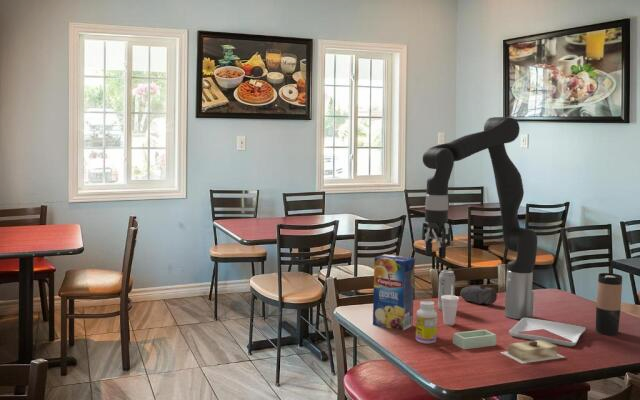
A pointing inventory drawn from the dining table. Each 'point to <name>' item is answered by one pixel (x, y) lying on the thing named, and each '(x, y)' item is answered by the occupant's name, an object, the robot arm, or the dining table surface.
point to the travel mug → (608, 303)
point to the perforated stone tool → (479, 294)
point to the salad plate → (555, 327)
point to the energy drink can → (445, 285)
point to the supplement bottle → (426, 323)
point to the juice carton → (393, 291)
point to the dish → (474, 339)
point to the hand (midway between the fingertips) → (435, 256)
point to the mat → (532, 359)
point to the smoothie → (449, 307)
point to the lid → (532, 350)
